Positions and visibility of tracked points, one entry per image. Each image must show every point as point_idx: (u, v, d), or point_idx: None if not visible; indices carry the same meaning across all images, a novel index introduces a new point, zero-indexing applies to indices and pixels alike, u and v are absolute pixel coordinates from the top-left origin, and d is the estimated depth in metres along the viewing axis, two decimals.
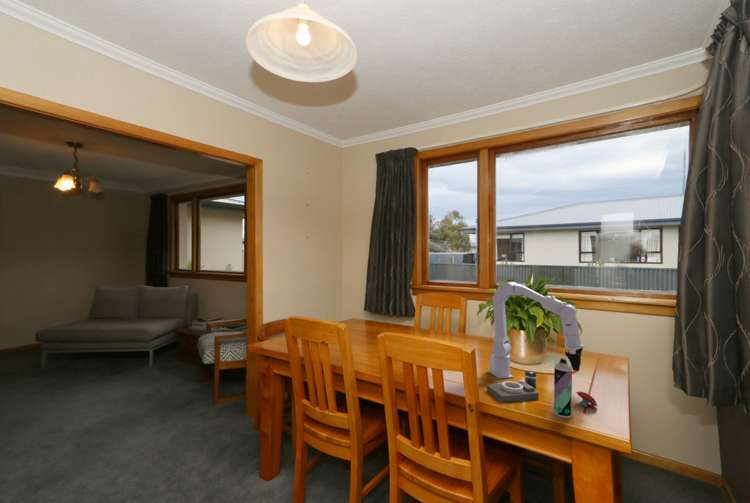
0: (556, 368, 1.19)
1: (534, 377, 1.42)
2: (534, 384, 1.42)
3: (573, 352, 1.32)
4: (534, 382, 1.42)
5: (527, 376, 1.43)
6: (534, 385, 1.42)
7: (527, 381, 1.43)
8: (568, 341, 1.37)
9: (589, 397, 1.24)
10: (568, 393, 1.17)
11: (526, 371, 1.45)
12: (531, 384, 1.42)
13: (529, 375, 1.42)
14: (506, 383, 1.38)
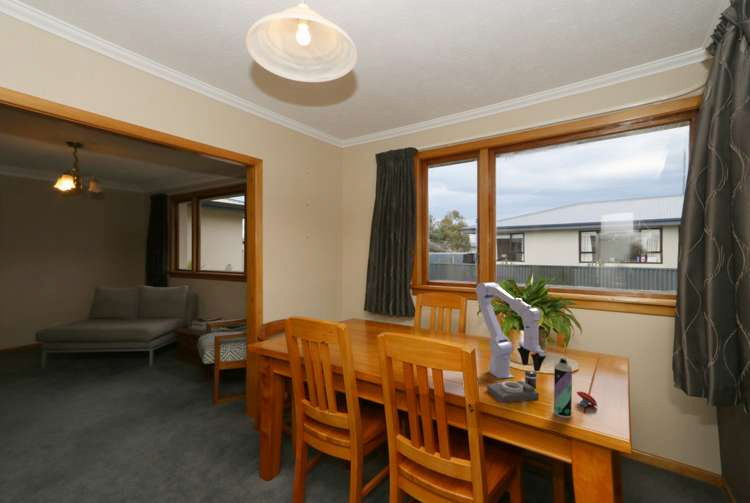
0: (556, 368, 1.19)
1: (534, 377, 1.42)
2: (534, 384, 1.42)
3: (543, 354, 1.37)
4: (534, 382, 1.42)
5: (527, 376, 1.43)
6: (534, 385, 1.42)
7: (527, 381, 1.43)
8: (532, 343, 1.41)
9: (589, 397, 1.24)
10: (567, 393, 1.17)
11: (526, 371, 1.45)
12: (531, 384, 1.42)
13: (529, 375, 1.42)
14: (506, 383, 1.38)
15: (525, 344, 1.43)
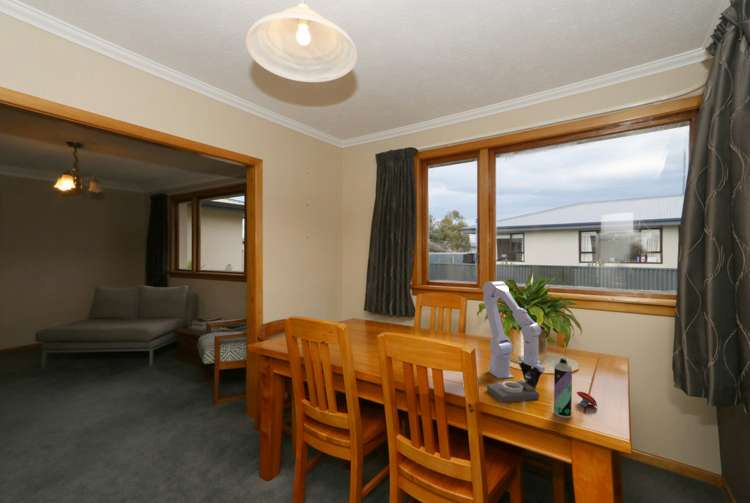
0: (556, 368, 1.19)
1: None
2: None
3: (543, 370, 1.37)
4: None
5: (527, 376, 1.43)
6: (534, 385, 1.42)
7: (527, 381, 1.43)
8: (532, 359, 1.41)
9: (589, 397, 1.24)
10: (568, 393, 1.17)
11: (526, 371, 1.45)
12: (531, 384, 1.42)
13: (529, 375, 1.42)
14: (506, 383, 1.38)
15: (525, 359, 1.43)
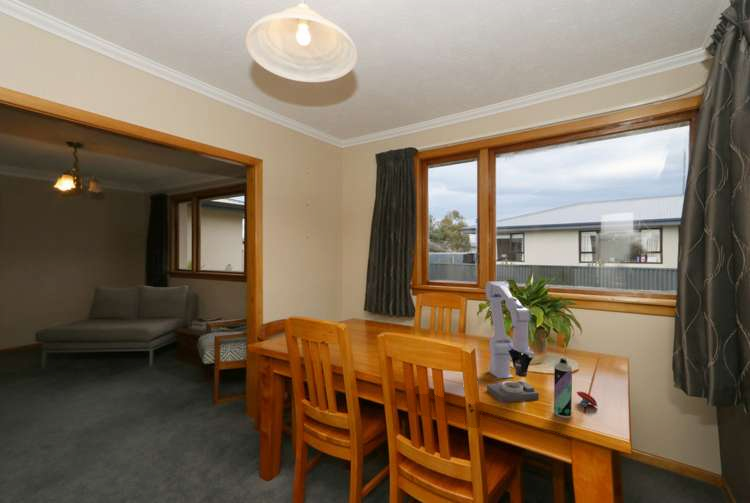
0: (556, 368, 1.19)
1: None
2: (525, 372, 1.37)
3: (533, 356, 1.32)
4: None
5: (517, 364, 1.38)
6: (525, 373, 1.37)
7: (518, 369, 1.38)
8: (521, 344, 1.36)
9: (589, 397, 1.24)
10: (567, 393, 1.17)
11: (516, 359, 1.40)
12: (522, 372, 1.37)
13: (520, 363, 1.37)
14: (506, 383, 1.38)
15: (514, 345, 1.38)
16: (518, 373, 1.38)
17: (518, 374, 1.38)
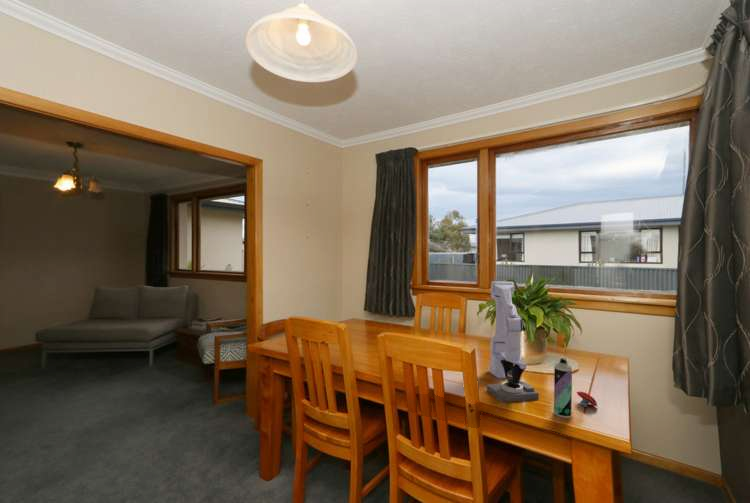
0: (556, 368, 1.19)
1: None
2: (517, 383, 1.34)
3: (524, 367, 1.28)
4: None
5: (509, 375, 1.34)
6: (517, 384, 1.34)
7: (510, 380, 1.34)
8: (513, 355, 1.33)
9: (589, 397, 1.24)
10: (568, 393, 1.17)
11: (508, 370, 1.37)
12: (514, 384, 1.33)
13: None
14: (506, 383, 1.38)
15: (506, 355, 1.35)
16: (510, 384, 1.34)
17: (510, 385, 1.34)
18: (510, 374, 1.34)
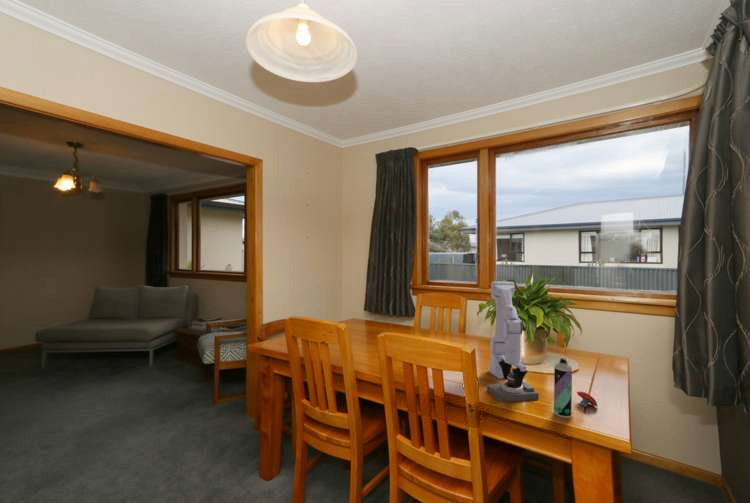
0: (556, 368, 1.19)
1: None
2: None
3: (524, 369, 1.28)
4: None
5: (509, 378, 1.34)
6: (517, 387, 1.34)
7: (510, 383, 1.34)
8: (513, 357, 1.33)
9: (589, 397, 1.24)
10: (567, 393, 1.17)
11: (508, 372, 1.37)
12: (514, 386, 1.34)
13: (512, 377, 1.34)
14: (506, 383, 1.38)
15: (506, 358, 1.35)
16: None
17: None
18: (510, 377, 1.34)
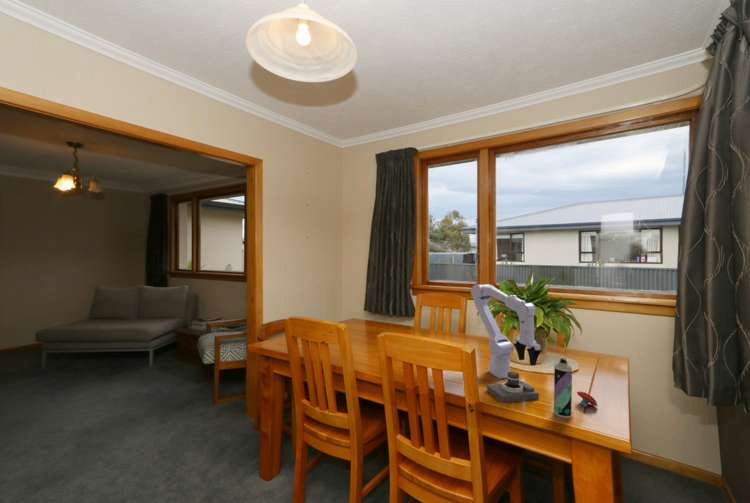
0: (556, 368, 1.19)
1: (517, 379, 1.34)
2: (517, 386, 1.34)
3: (539, 348, 1.38)
4: (517, 384, 1.34)
5: (509, 378, 1.34)
6: (517, 387, 1.34)
7: (510, 383, 1.34)
8: (528, 338, 1.43)
9: (589, 397, 1.24)
10: (567, 393, 1.17)
11: (508, 372, 1.37)
12: (513, 386, 1.34)
13: (512, 377, 1.34)
14: (506, 383, 1.38)
15: (521, 339, 1.45)
16: None
17: None
18: (510, 377, 1.34)
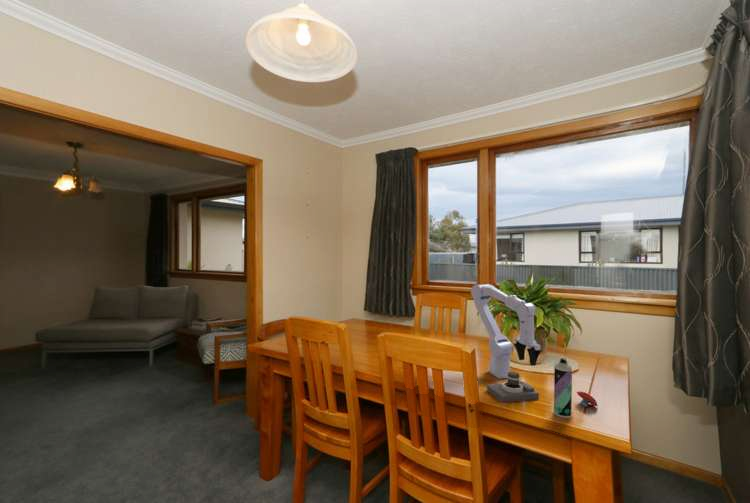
0: (556, 368, 1.19)
1: (517, 379, 1.34)
2: (517, 386, 1.34)
3: (539, 348, 1.38)
4: (517, 384, 1.34)
5: (509, 378, 1.35)
6: (517, 387, 1.34)
7: (510, 383, 1.34)
8: (528, 338, 1.43)
9: (589, 397, 1.24)
10: (568, 393, 1.17)
11: (509, 372, 1.37)
12: (513, 386, 1.34)
13: (512, 376, 1.34)
14: (506, 383, 1.38)
15: (521, 339, 1.45)
16: None
17: None
18: (510, 377, 1.34)
